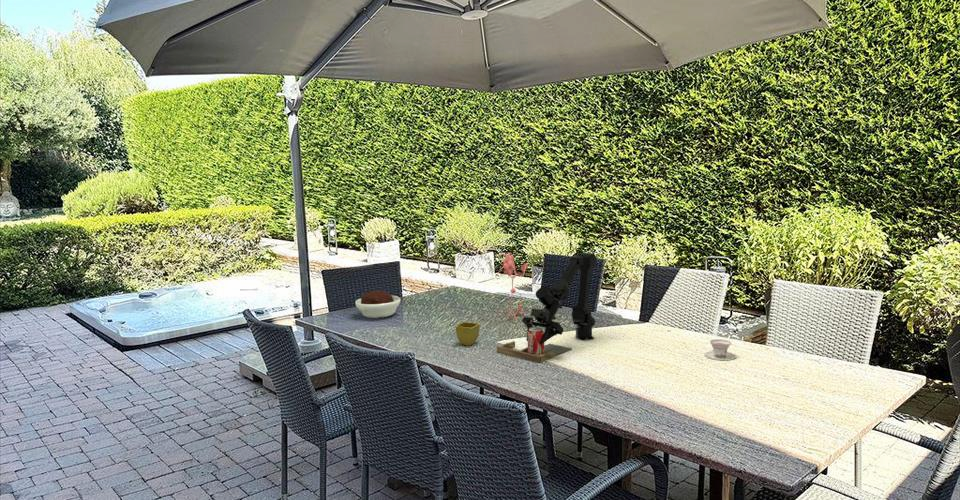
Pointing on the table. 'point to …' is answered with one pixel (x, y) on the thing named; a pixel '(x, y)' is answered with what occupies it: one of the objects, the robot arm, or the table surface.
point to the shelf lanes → (524, 353)
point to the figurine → (508, 268)
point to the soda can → (535, 341)
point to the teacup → (720, 350)
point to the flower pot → (467, 332)
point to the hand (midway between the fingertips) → (533, 342)
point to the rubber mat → (556, 349)
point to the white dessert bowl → (377, 304)
